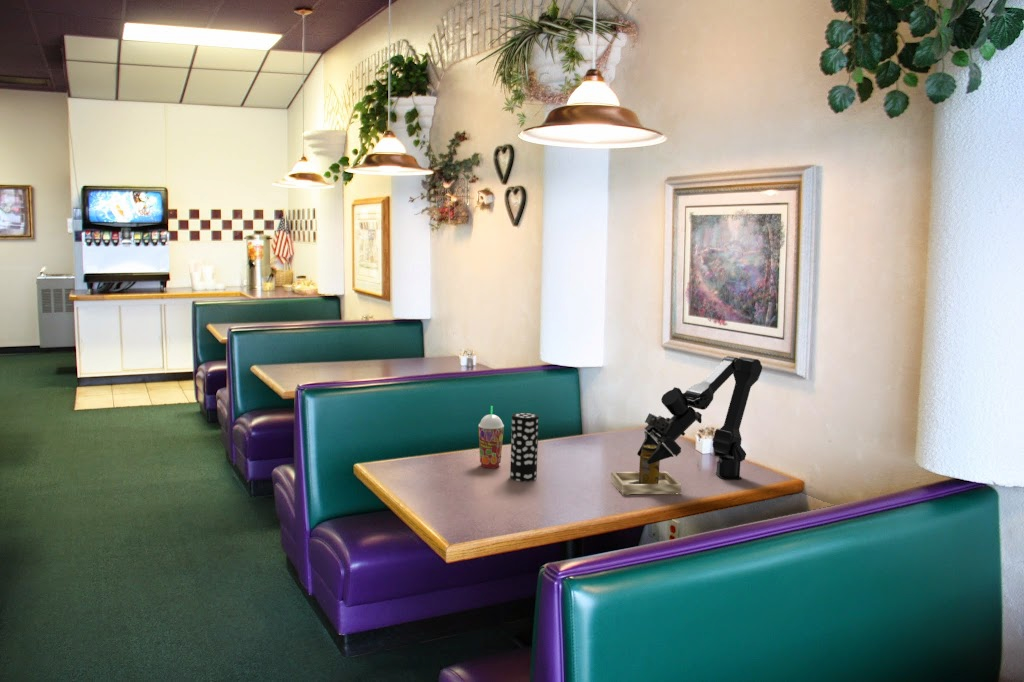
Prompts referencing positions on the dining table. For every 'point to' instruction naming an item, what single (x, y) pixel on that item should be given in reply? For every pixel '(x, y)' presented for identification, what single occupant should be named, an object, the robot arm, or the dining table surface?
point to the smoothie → (490, 440)
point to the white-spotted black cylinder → (524, 447)
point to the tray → (664, 487)
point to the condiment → (648, 467)
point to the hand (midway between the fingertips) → (642, 459)
